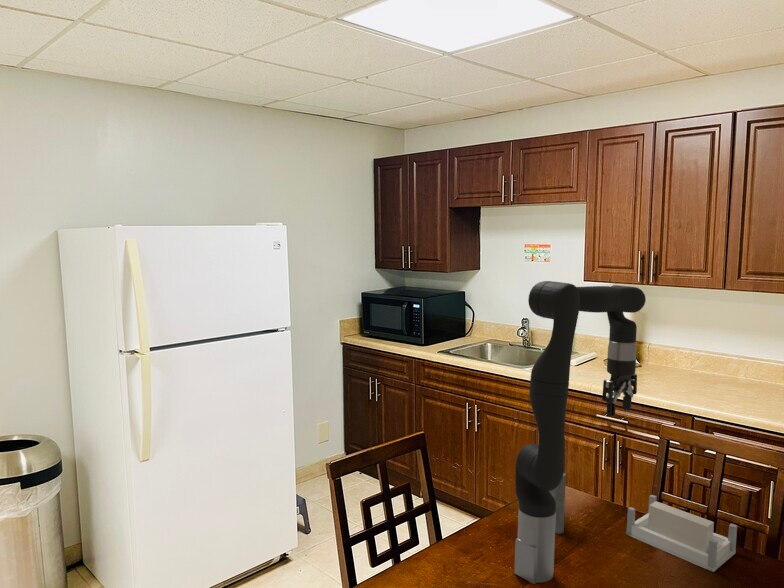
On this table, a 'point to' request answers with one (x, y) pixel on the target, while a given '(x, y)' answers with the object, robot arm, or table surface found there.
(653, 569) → the table surface
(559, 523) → the hip flask
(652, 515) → the panel
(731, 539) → the rack
